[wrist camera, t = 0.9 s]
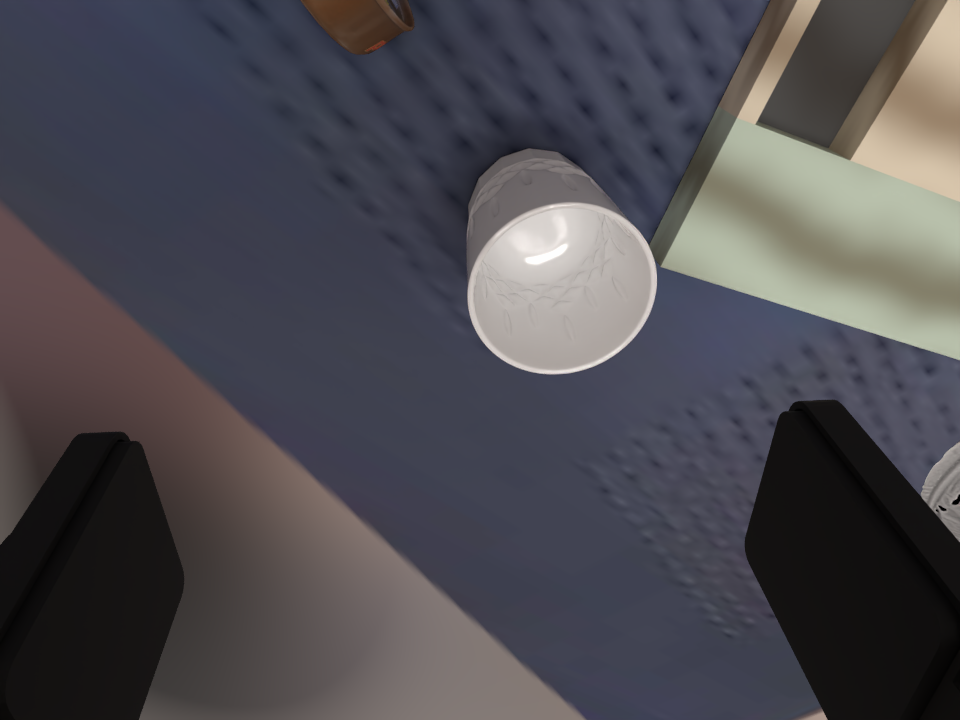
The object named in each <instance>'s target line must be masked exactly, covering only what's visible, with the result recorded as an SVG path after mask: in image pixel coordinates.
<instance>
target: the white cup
mask: <svg viewBox="0 0 960 720" xmlns="http://www.w3.org/2000/svg"><path fill="white" fill-rule="evenodd" d="M468 211H469V221H468V226H467V248H466V263H467V294H468V308H469V313H470V317H471V320H472V323H473V326H474V328H475V330H476V332H477V334H478V335H479V337H480V338H481V340H482V341H483V343H484V344H485V345H486V346H487V347H488V348H489V349H490V350H491V351H492V352H493V353H494V354H495V355H496V356H498V357H499V358H501V359H502V360H504V361H505V362H507V363H509V364H511V365H513V366H515V367H517V368H520V369H523V370H526V371H530V372H534V373H541V374H566V373H572V372H577V371H581V370H584V369H588V368H590V367H593V366H595V365H598V364H600V363H602V362H604V361H606V360H607V359H609V358H611V357H612V356H614V355H615V354H617V353H618V352H619V351H621V350H622V349H623V348H624V347H625V346H626V345H628V344H629V343H630V342H631V341H632V339H633V338H634V337H635V336H636V335H637V334H638V332H639V331H640V330H641V328H642V327H643V325H644V323H645V322H646V320H647V318H648V316H649V314H650V311H651V309H652V306H653V303H654V299H655V295H656V288H657V272H656V265H655V261H654V258H653V255H652V252H651V250H650V247H649V245H648V244H647V242H646V240H645V239H644V237H643V236H642V234H641V233H640V232H639V231H638V230H637V228H636V227H635V226H634V225H633V224H632V223H631V222H630V220H629V219H628V218H627V217H626V216H625V215H624V213H623V212H622V211H621V210H620V209H619V208H618V206H617V205H616V204H615V203H614V202H613V200H612V199H611V198H610V197H609V196H608V195H607V194H606V193H605V192H604V191H603V190H602V189H601V188H600V186H599V185H598V184H597V183H596V182H595V181H594V180H593V179H592V178H591V177H589V176H588V175H587V174H586V173H585V172H584V171H583V170H582V169H581V168H580V167H579V166H577V165H576V164H575V163H573V162H572V161H570V160H569V159H567V158H566V157H564V156H563V155H562V154H560V153H559V152H554V151H546V150H539V149H531V148H528V149H525V150H522V151H519V152H516V153H513V154H510V155H507V156H504V157H501V158H500V159H498V160H497V161H496V162H495V163H494V164H493V165H492V166H491V167H490V168H489V169H488V170H487V171H486V172H485V173H484V174H483V175H482V176H480V177H479V179H478V181H477V184H476V186H475V189H474V192H473V194H472V197H471V199H470V202H469V205H468Z"/></svg>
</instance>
